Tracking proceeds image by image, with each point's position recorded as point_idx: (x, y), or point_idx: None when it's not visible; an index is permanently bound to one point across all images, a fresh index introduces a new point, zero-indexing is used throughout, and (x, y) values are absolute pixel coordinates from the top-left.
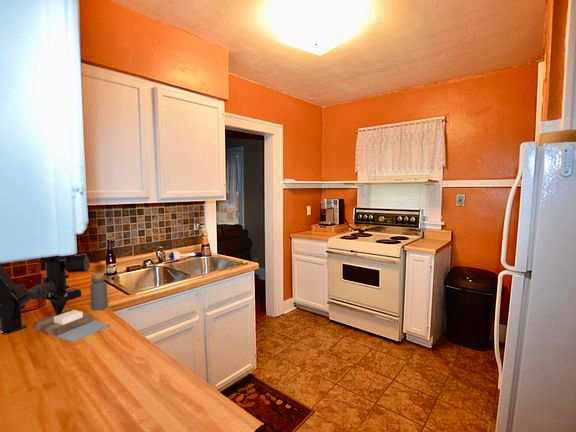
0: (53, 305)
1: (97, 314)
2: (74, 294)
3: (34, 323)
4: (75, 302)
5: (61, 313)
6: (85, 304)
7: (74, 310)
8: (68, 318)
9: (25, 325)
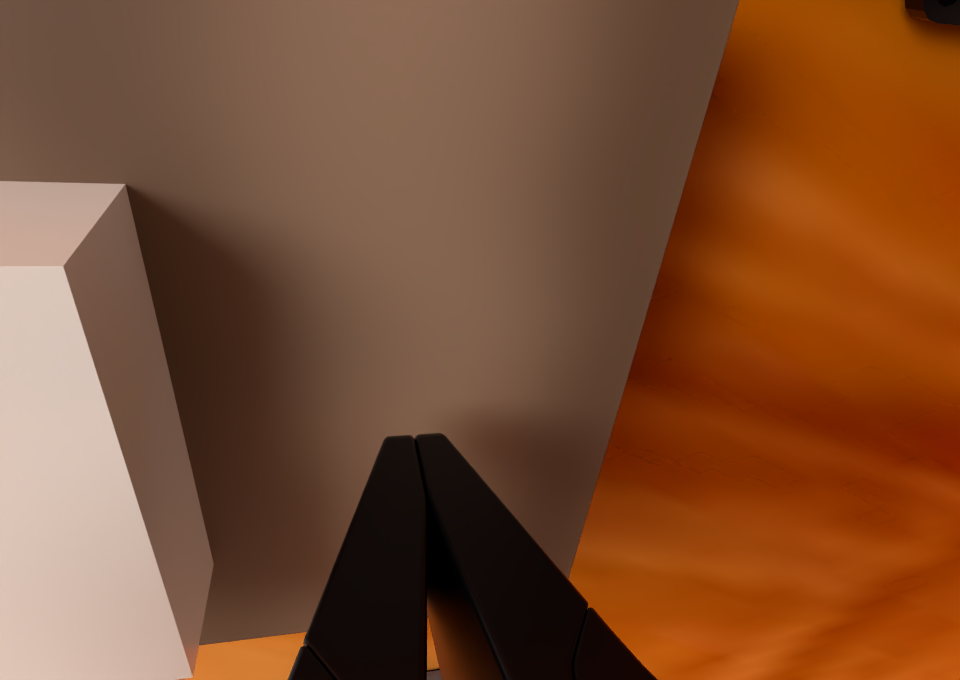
0: (529, 660)
1: (241, 656)
2: None
3: None
4: (809, 649)
5: (536, 496)
6: (665, 674)
7: (126, 674)
8: None
9: (957, 10)
